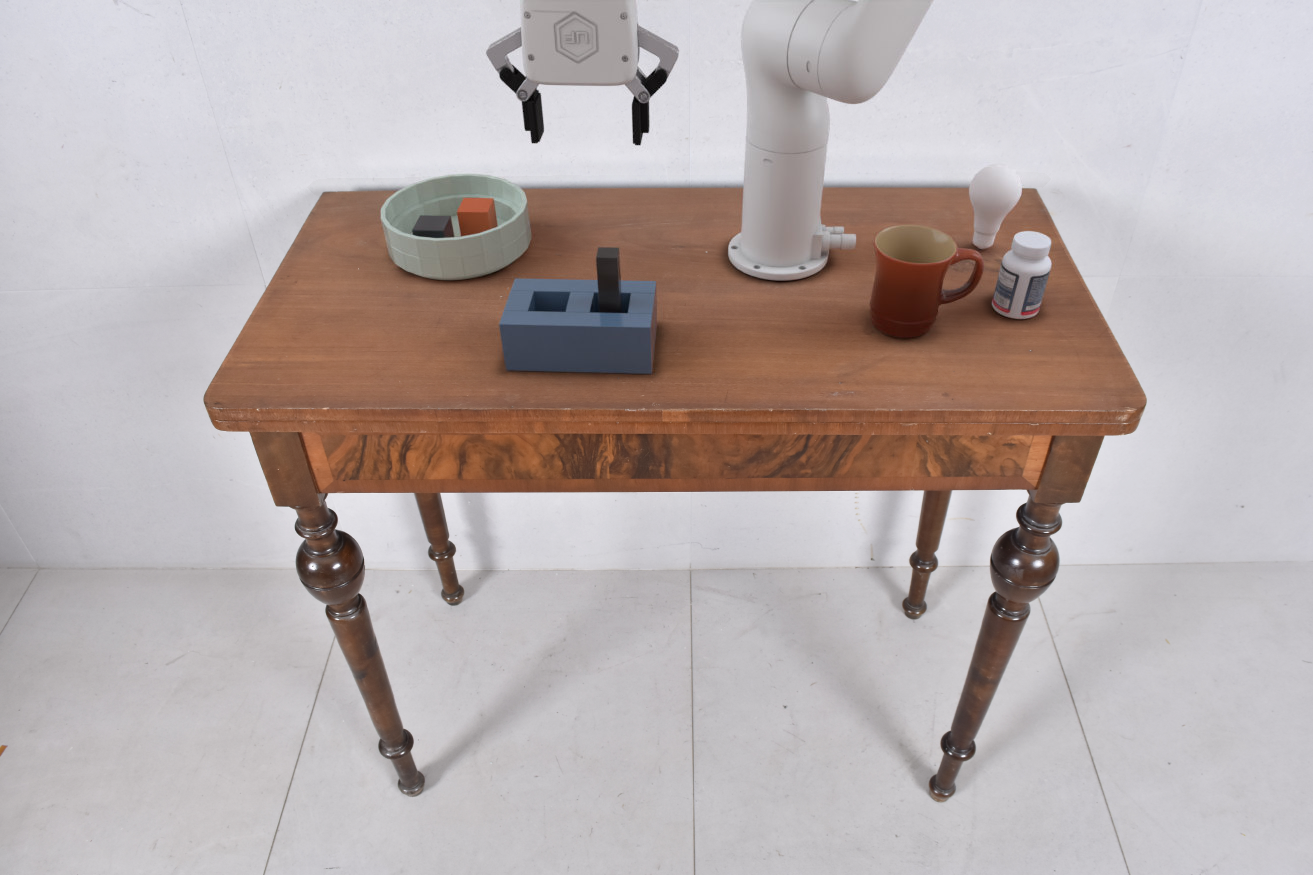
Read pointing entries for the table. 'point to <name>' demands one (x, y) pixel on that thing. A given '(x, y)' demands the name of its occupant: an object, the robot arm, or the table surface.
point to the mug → (915, 278)
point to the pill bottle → (1023, 276)
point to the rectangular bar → (609, 280)
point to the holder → (578, 327)
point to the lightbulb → (992, 201)
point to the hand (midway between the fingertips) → (587, 139)
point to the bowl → (456, 227)
